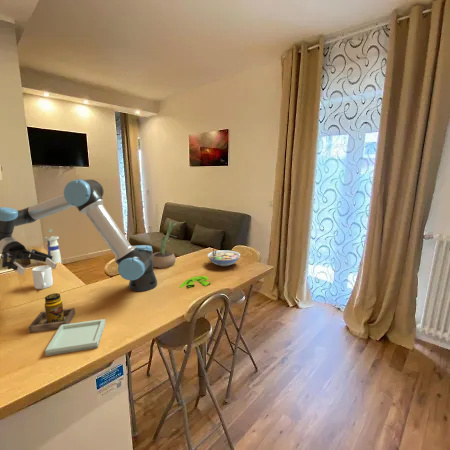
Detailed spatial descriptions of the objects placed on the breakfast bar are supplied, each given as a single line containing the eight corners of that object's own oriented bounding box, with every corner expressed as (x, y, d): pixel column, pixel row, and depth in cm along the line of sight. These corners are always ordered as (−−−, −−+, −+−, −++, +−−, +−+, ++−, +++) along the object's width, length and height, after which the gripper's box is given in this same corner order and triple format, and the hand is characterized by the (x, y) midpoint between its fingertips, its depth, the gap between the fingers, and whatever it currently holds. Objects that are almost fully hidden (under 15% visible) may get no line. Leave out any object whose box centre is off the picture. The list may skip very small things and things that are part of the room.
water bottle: (44, 264, 181) (40, 229, 176) (56, 260, 189) (52, 227, 184) (52, 265, 178) (48, 230, 173) (64, 262, 185) (60, 228, 181)
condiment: (61, 326, 105) (58, 298, 103) (38, 328, 103) (34, 300, 101) (68, 316, 112) (65, 291, 110) (46, 319, 110) (42, 292, 108)
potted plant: (160, 271, 167) (158, 225, 162) (146, 265, 179) (143, 222, 174) (187, 262, 184) (186, 221, 178) (172, 257, 196) (171, 218, 190)
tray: (105, 323, 106) (104, 318, 106) (97, 347, 91) (97, 342, 91) (61, 329, 102) (61, 324, 102) (46, 356, 87) (45, 350, 87)
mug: (34, 293, 135) (31, 273, 133) (34, 285, 145) (32, 267, 143) (53, 289, 140) (51, 270, 138) (52, 282, 150) (50, 264, 148)
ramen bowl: (241, 271, 167) (241, 259, 165) (206, 271, 167) (205, 259, 166) (239, 259, 191) (239, 248, 190) (208, 259, 192) (208, 248, 190)
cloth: (208, 275, 161) (208, 272, 160) (218, 289, 140) (218, 285, 140) (175, 279, 154) (175, 276, 154) (181, 295, 134) (181, 290, 134)
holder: (75, 313, 115) (74, 307, 115) (66, 327, 104) (66, 322, 103) (41, 317, 112) (40, 311, 111) (29, 333, 100) (28, 327, 100)
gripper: (37, 252, 132) (64, 271, 125) (-24, 258, 109) (4, 282, 102) (41, 239, 131) (68, 257, 124) (-20, 242, 108) (9, 265, 100)
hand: (40, 269), depth 113 cm, fingers open, 13 cm apart
